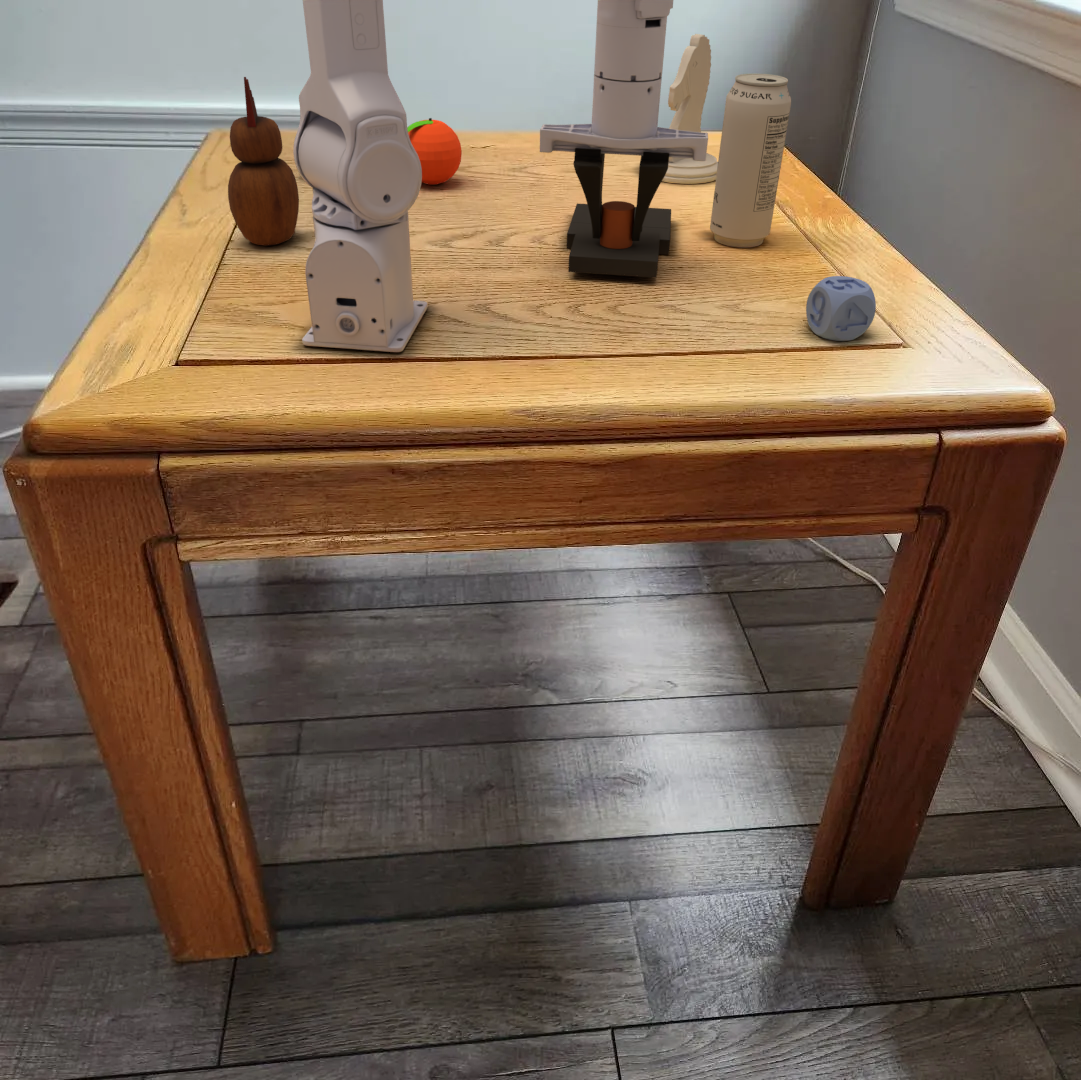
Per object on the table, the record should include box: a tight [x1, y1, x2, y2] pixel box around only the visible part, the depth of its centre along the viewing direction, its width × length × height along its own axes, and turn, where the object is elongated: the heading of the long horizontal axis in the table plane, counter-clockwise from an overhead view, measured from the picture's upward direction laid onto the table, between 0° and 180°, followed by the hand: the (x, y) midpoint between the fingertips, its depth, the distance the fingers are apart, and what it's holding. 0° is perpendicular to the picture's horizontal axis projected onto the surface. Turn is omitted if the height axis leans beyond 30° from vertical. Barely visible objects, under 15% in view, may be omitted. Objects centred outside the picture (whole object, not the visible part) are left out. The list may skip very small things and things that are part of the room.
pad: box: [567, 200, 660, 279], centre depth 89 cm, size 11×8×5 cm
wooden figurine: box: [227, 76, 300, 247], centre depth 89 cm, size 7×6×15 cm
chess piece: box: [662, 33, 718, 185], centre depth 112 cm, size 10×10×15 cm
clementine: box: [407, 117, 463, 186], centre depth 108 cm, size 8×7×7 cm
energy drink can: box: [709, 73, 792, 249], centre depth 93 cm, size 6×6×15 cm
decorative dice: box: [805, 275, 877, 342], centre depth 77 cm, size 4×4×4 cm
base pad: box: [566, 202, 672, 256], centre depth 97 cm, size 10×10×2 cm
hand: (616, 236), depth 88 cm, fingers closed on pad, 3 cm apart
